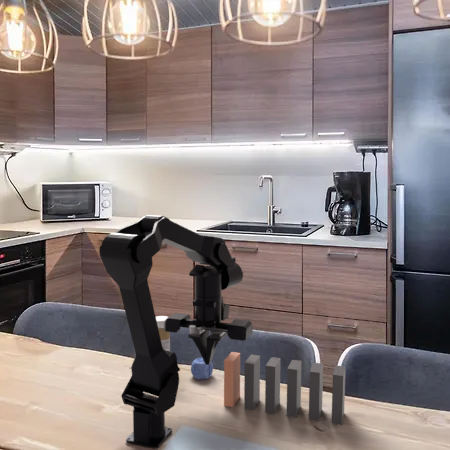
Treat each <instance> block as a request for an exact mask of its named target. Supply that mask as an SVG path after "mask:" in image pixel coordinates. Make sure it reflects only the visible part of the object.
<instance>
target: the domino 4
mask: <svg viewBox="0 0 450 450" xmlns="http://www.w3.org/2000/svg"><path fill="white" fill-rule="evenodd" d="M286 370H287V371H286V373H287V374H286V380H287V381H286V416H287V417H292V418H297V416H298V415H299V411H300V410H301V407H302V401H301V400H302V399H301V398H302V360H299V359H298V360H297V359H291V361H290V363H289V365H288V366H287V369H286Z"/></svg>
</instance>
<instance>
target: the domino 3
mask: <svg viewBox="0 0 450 450" xmlns="http://www.w3.org/2000/svg"><path fill="white" fill-rule="evenodd" d="M264 381H265V383H264V384H265V386H264V387H265V390H264V393H265V395H264V397H265V398H264V404H265V406H264V412H265V413H267V414H273V415H275V414H276V412H277V410H278V408H279V406H280V403H281V357H276V356H274V357H273V356H271V357H270V359H268V362H267V363H266V364H265V379H264Z"/></svg>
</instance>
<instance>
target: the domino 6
mask: <svg viewBox="0 0 450 450" xmlns="http://www.w3.org/2000/svg"><path fill="white" fill-rule="evenodd" d="M346 368H347V367H346V366H345V365H336V364H335V366H334V369H333V373H332V388H331V389H332V391H331V392H332V394H331V421H330V422H331V424H332V425H333V424H334V425H338V424H340V426H342V425H343V422H344V417H343V416H344V415H345V401H346V400H345V396H346ZM342 421H343V422H342Z"/></svg>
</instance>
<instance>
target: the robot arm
mask: <svg viewBox="0 0 450 450" xmlns="http://www.w3.org/2000/svg"><path fill="white" fill-rule="evenodd" d="M163 243H164V244H167V245H169V246H172V247H174V248H176V249H179V250H182V251H183V252H184V253H185V255H186V257H187V258H188V259H190V260H191V261H192V262H194V263H198V264H195V265H194V267H193V268H192V269H191V270H190V272H189V273H188V275H189V277H194V300H192V306H193V307H194V319H191V315H190V314H189V313H179V312H175V313H173V314H171V315H170V316H167V317H168V318H167V319H166V320H165V322H164V331H166V332H170V333H174V334H175V333H176V334H177V333H178V332H179V331H180V330H181V328H186V329H189V334H188V335H187V337H188V338H189V339H192V342H194V344H195V346H196V347H197V349H198V351H199V353H200V355H201V358H203V360H204V362H205V364H206V365H209V364H210V363H211V362H212V360H213V357H214V355H215V352H216V349H217V347H218V344H219V342H220V341H222V340H223V339H224V338H225V337H226V336H228V338H229V339H230V340H235V341H247V339H249V337H250V336H251V335H252V334H253V323H252V321H251V320H248V319H247V320H246V319H237V318H235V319H233V320H232V321H231V322H230V323H228V322H222V321H225V320H227V319H229V315H230V307H231V305H229V304H227V303H224V297H223V296H222V291H224V290H226V289H229V288H232V287H235V286H237V285H240V284H241V282H242V281H243V278H244V277H243V276H244V272H243V269H242V268H241V266H240V265H239V264H238V263H237V262H236V257H232V255H231V253H230V250H229V249H228V246H227V244H226V241H225V240H224V238H222V237H218V236H211V235H205V234H204V235H203V234H199V233H197V232H195V231H193V230H191V229H189V228H187V227H185V226H183V225H180V224H178V223H177V222H175V221H172V220H170V218H168V217H167V216H165V215H154V214H153V215H152V214H147V215H145V216H142V217H141V218H139V219H138V220H136V221H134V222H132V223H131V224H128V225H125V226H123V227H121V228H119V229H118V230H116V231H115V232H112V233H111V232H110V233H109V234H107V235H106V236H104V238H103V240H102V243H101V244H100V246H99V250H98V251H99V257H100V260H101V262H102V265H103V268H104V269H105V271H106V273H107V274H108V275H109V277H110V278H111V279H112V280H113V281H114V283H116V285H117V286H118V288H119V292H120V296H121V301H122V303H123V307H124V312H125V316H126V319H127V325H128V328H129V332H130V336H131V341H132V343H133V347H134V352H135V357H134V358H133V361H132V364H131V369H130V370H131V376H130V379H129V381H128V382H127V384H126V386H125V388H124V389H123V392H122V393H121V399H122V401H123V402H122V403H123V404H124V405H127V406H131V407H133V409H132V419H133V421H132V426H133V427H132V428H133V429H132V430H133V431H132V432H131V434H129V435H128V436H127V437H126V438H125V442H126V443H129V444H132V445H133V444H134V445H138V446H144V447H149V448H153V449H157V448H159V447H161V445H162V444H163V442H164V441H165V440H166V439H167V437H169V435H170V434H171V433H172V432H173V428H171V427H167V426H166V424H165V423H166V415H165V414H166V412H168V411H169V410H170V409H171V408H174V407H175V404H176V399H177V395H178V389H179V384H180V374H179V372H180V371H181V368H180V367H179V365H178V357H177V354H176V352H175V351H171V350H170V351H167V350H164V349H163V347H162V343H161V339H160V334H159V330H158V325H157V321H156V317H157V316H156V312H155V308H154V305H153V299H152V295H151V290H150V287H149V282H148V281H149V279H148V278H149V275H150V273H151V270H152V269H153V257H154V256H155V255H157V254H158V252H159V251H161V248H162V244H163Z"/></svg>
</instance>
